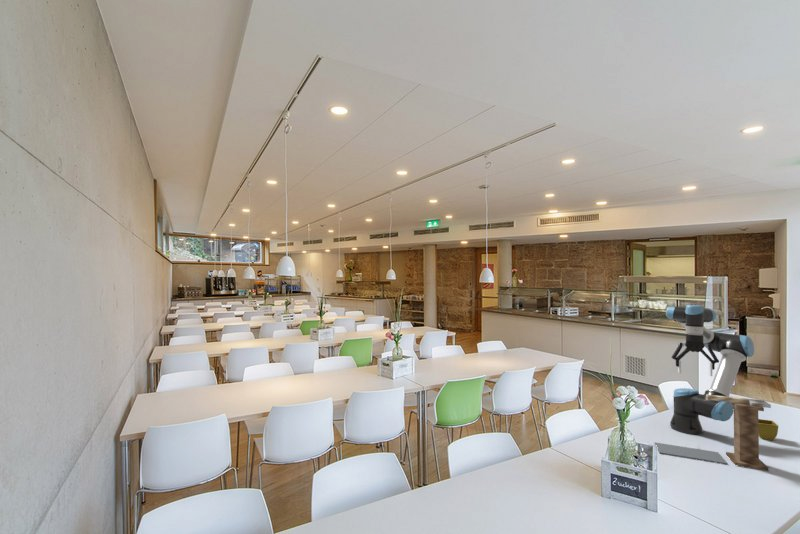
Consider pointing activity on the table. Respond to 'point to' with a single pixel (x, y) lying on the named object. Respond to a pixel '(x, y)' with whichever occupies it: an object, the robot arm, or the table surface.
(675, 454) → the mat
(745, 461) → the pedestal
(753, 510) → the table surface
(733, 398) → the bar
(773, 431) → the flower pot
